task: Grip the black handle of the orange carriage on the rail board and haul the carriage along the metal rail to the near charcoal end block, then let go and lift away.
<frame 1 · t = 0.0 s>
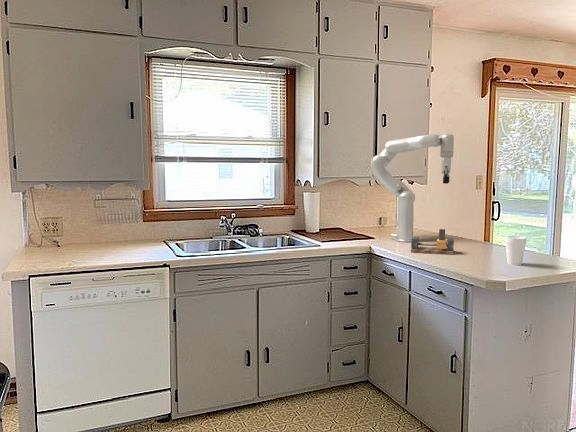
hand: (446, 183, 291), 37 cm above the worktop, tool pointing down, fingers open, 9 cm apart
foam cup: (514, 264, 231), on the worktop
carriage: (442, 238, 263), point 8 cm above the worktop, slide at 0.0 cm
rail board: (432, 251, 265), on the worktop
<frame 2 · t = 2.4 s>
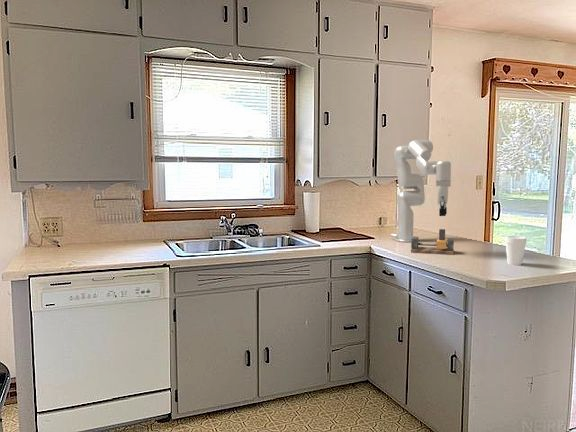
hand: (443, 215, 261), 21 cm above the worktop, tool pointing down, fingers open, 9 cm apart
nothing on the worktop moved.
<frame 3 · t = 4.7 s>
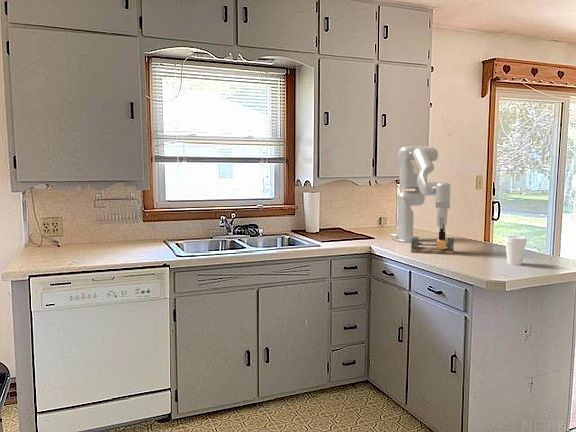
hand: (442, 238, 263), 8 cm above the worktop, tool pointing down, fingers closed on carriage, 2 cm apart
carriage: (442, 238, 263), point 8 cm above the worktop, slide at 0.0 cm, touching gripper
everything else where it was.
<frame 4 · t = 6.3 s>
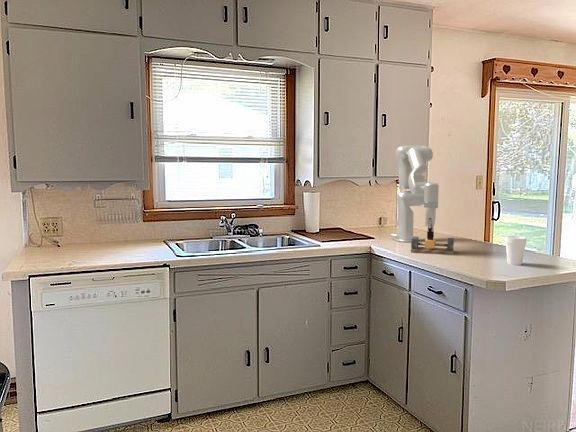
hand: (430, 237, 265), 8 cm above the worktop, tool pointing down, fingers closed on carriage, 2 cm apart
carriage: (430, 238, 265), point 8 cm above the worktop, slide at 6.2 cm, touching gripper
everything else where it was.
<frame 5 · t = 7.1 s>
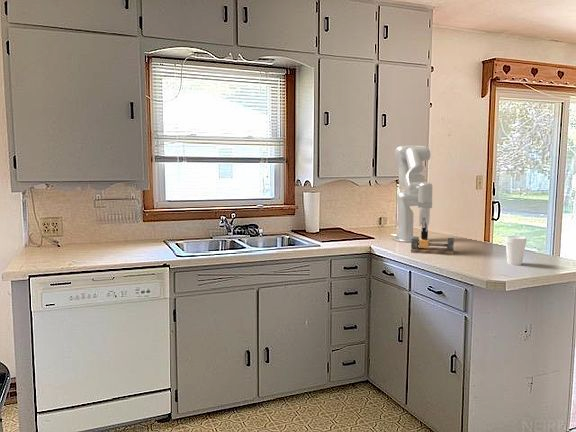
hand: (424, 237, 266), 8 cm above the worktop, tool pointing down, fingers closed on carriage, 2 cm apart
carriage: (424, 237, 266), point 8 cm above the worktop, slide at 9.4 cm, touching gripper
everything else where it was.
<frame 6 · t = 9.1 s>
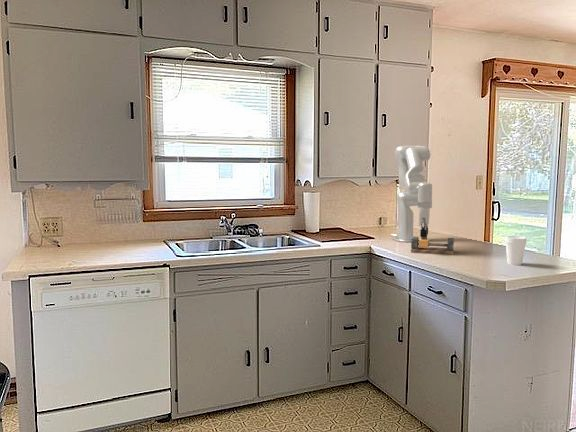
hand: (424, 235, 266), 9 cm above the worktop, tool pointing down, fingers open, 9 cm apart
carriage: (424, 237, 266), point 8 cm above the worktop, slide at 9.5 cm
everything else where it was.
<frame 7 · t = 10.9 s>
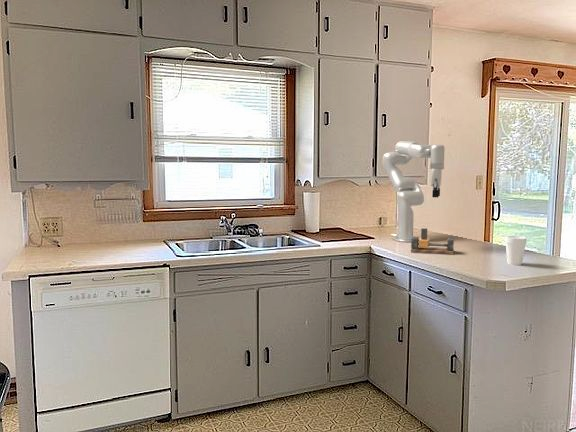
hand: (436, 196, 274), 30 cm above the worktop, tool pointing down, fingers open, 9 cm apart
nothing on the worktop moved.
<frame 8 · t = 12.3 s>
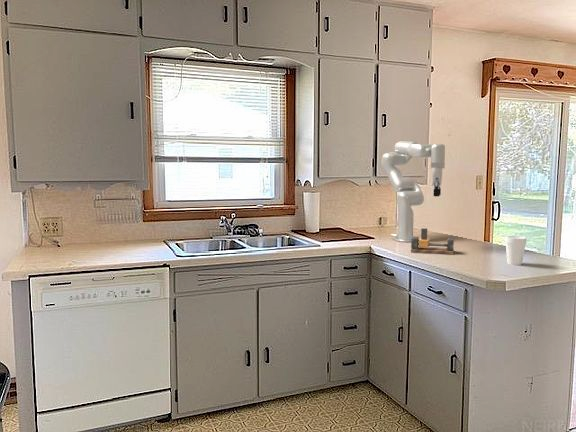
hand: (437, 195, 274), 30 cm above the worktop, tool pointing down, fingers open, 9 cm apart
nothing on the worktop moved.
at the end: carriage slide at 9.5 cm; the gripper is holding nothing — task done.
